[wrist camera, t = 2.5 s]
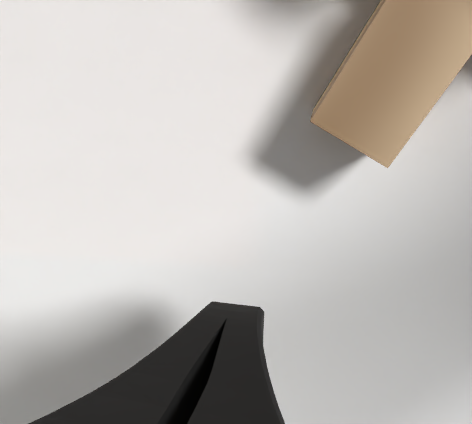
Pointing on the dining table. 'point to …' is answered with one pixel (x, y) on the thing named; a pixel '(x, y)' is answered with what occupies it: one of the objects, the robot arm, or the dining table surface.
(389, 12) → the tan t-shaped block
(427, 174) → the dining table surface
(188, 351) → the robot arm
